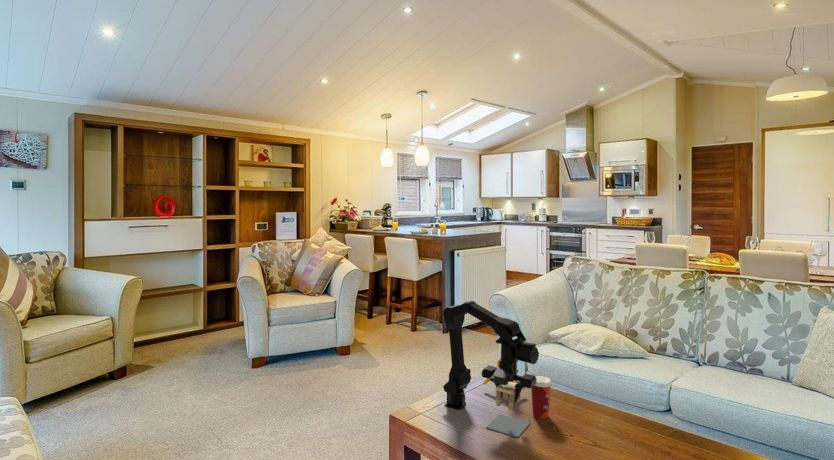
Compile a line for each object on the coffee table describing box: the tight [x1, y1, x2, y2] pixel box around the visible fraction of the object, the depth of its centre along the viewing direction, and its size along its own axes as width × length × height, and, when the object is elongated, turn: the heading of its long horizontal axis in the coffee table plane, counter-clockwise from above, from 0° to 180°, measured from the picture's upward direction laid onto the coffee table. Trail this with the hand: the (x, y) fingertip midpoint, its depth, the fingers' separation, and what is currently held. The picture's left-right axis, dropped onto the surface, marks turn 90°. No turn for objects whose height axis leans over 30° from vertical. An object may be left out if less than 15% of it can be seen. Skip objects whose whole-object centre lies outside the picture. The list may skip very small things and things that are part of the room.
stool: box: [495, 381, 521, 411], centre depth 163 cm, size 8×6×7 cm
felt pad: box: [485, 413, 531, 439], centre depth 164 cm, size 12×12×1 cm
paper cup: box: [531, 375, 552, 420], centre depth 171 cm, size 8×8×14 cm
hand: (508, 399), depth 163 cm, fingers closed on stool, 5 cm apart
